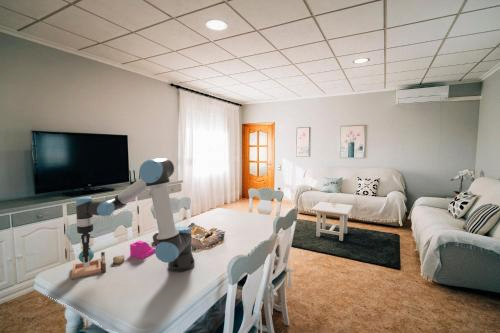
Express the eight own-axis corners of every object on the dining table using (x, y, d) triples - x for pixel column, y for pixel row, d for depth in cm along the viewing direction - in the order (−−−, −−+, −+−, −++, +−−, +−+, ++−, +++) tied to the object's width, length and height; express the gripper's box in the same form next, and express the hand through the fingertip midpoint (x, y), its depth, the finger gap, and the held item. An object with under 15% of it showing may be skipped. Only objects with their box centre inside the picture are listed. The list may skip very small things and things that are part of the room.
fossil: (163, 237, 186) (166, 227, 183) (168, 245, 181) (172, 235, 178) (149, 240, 178) (152, 230, 175) (154, 249, 173) (158, 239, 169)
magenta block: (142, 259, 151) (141, 243, 151) (130, 256, 155) (129, 240, 154) (156, 251, 162) (156, 236, 162) (144, 249, 166) (144, 234, 166)
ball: (94, 262, 135) (93, 250, 135) (78, 266, 132) (78, 253, 131) (94, 258, 141) (93, 246, 141) (79, 260, 137) (78, 249, 137)
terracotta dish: (101, 272, 135) (101, 268, 135) (71, 279, 128) (71, 274, 127) (100, 262, 146) (100, 258, 146) (73, 268, 139) (73, 264, 139)
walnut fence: (106, 272, 135) (105, 263, 135) (102, 273, 134) (101, 264, 134) (104, 259, 150) (104, 251, 149) (101, 260, 149) (101, 252, 148)
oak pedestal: (124, 262, 146) (124, 258, 146) (113, 265, 143) (113, 260, 143) (123, 258, 151) (123, 254, 151) (112, 261, 148) (112, 256, 148)
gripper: (93, 228, 128) (94, 270, 130) (93, 219, 145) (94, 256, 147) (75, 231, 124) (77, 274, 126) (77, 221, 141) (79, 259, 143)
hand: (86, 264), depth 136 cm, fingers closed on ball, 7 cm apart
